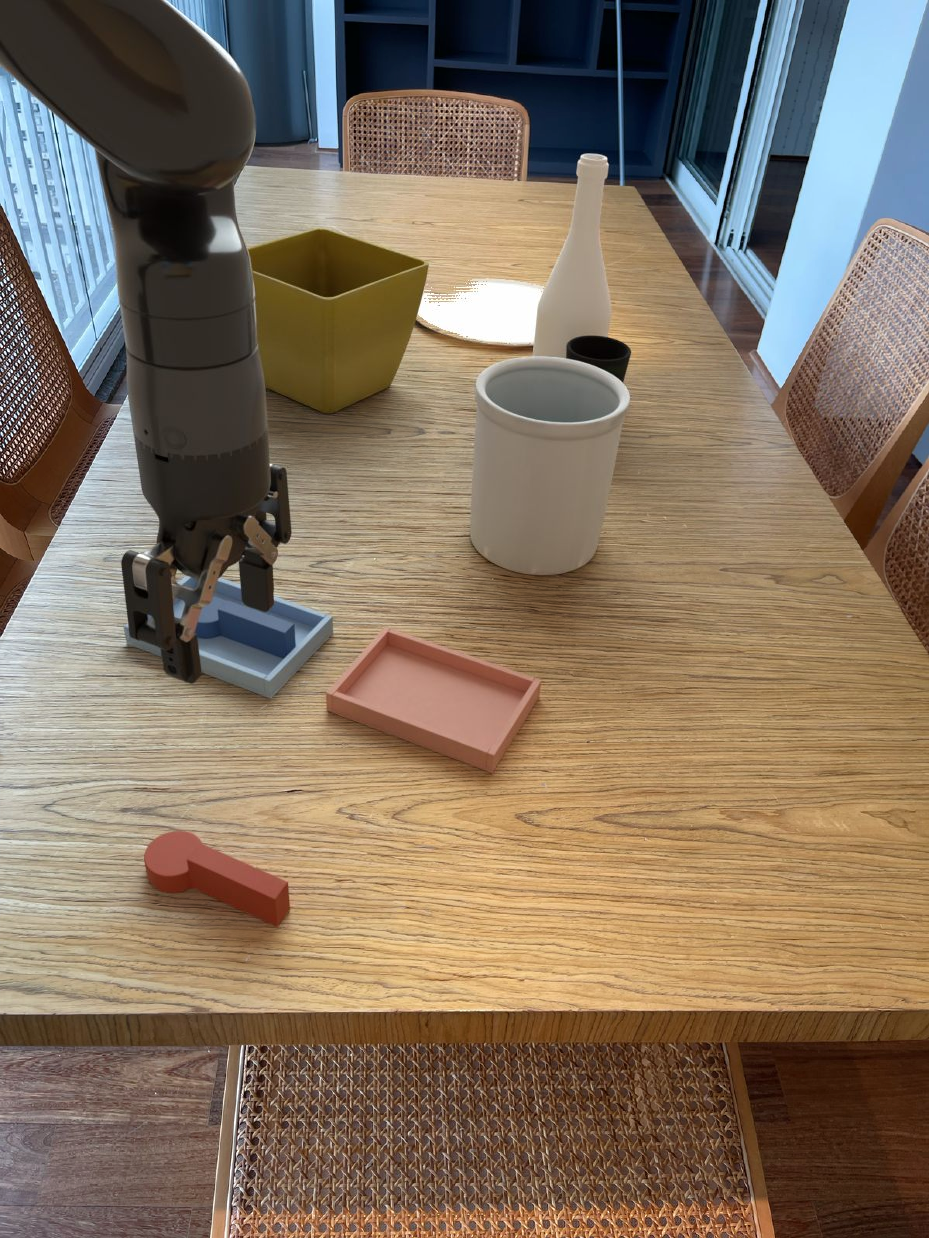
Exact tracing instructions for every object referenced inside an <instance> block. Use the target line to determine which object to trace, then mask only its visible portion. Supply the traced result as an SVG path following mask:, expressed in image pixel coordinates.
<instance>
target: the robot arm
mask: <svg viewBox="0 0 929 1238" xmlns="http://www.w3.org/2000/svg"><path fill="white" fill-rule="evenodd" d="M0 67H1V68H2V69H3V70H5V71H6V72H7V73H8V74H9V75H10V76H11V77H12V78H13V79H14V80H16V81H17V83H19V84H20V85H21V86H22V87H23V88H24V89H25V90H27V91H28V92H29V93H30V94H31V95H32V96H33V97H35V99H36V100H38V101H39V102H40V103H41V104H42V105H44V106H45V107H46V108H47V109H48V110H49V111H50V112H51V113H53V114H54V115H55V116H56V117H57V118H58V119H59V120H60V121H62V122H63V123H64V124H65V125H66V126H67V127H69V129H71V130H72V131H73V132H74V133H76V134H77V135H78V136H80V138H81V139H82V140H84V141H85V142H86V143H88V144H89V145H90V146H91V147H92V148H93V149H94V152H95V157H96V162H97V166H98V172H99V176H100V180H101V186H102V191H103V195H104V199H105V203H106V207H107V213H108V216H109V221H110V224H111V229H112V233H113V234H112V235H113V241H114V252H115V253H114V254H115V267H116V268H115V270H116V271H115V272H116V287H117V296H118V297H117V298H118V301H119V302H118V303H119V309H120V317H121V323H122V329H123V337H124V345H125V351H126V352H125V353H126V390H127V400H128V405H129V412H130V419H131V426H132V433H133V440H134V446H135V454H136V459H137V466H138V471H139V472H138V473H139V474H138V475H139V481H140V487H141V491H142V495H143V497H144V499H145V500H146V502H147V503H148V504H149V506H150V507H151V508H152V510H153V511H154V513H155V515H156V516H157V517H158V531H157V535H156V544H154V545H153V546H152V547H150V548H149V549H147V550H146V551H145V552H138V551H135V550H130V549H129V550H126V551H125V552H124V554H123V556H122V557H121V562H120V564H121V566H120V567H121V573H122V582H123V590H124V599H125V607H126V617H127V623H128V626H129V634H130V637H131V638H133V639H135V640H138V641H143V642H146V643H148V644H151V645H154V646H157V647H159V648H160V649H161V656H162V657H161V661H162V669H163V672H164V673H165V675H166V676H170V677H172V678H174V679H177V680H179V681H182V682H185V683H187V684H191V685H193V684H195V683H196V682H197V681H199V679H201V677H202V675H203V673H202V671H201V663H200V655H199V646H198V638H197V634H195V633H194V632H195V629H196V626H197V622H198V619H199V616H200V612H201V609H202V608H203V607H204V606H207V605H209V604H210V603H211V601H212V598H213V594H214V591H215V588H216V584H217V581H218V579H219V578H222V576H223V575H224V573H226V571H227V570H228V568H230V567H231V566H233V565H236V564H237V563H238V571H239V582H240V583H239V584H240V585H241V596H242V602H243V603H244V604H245V605H246V606H248V607H251V608H254V609H257V610H260V611H263V612H267V611H268V610H269V609H270V608H271V607H272V606H273V605H274V596H275V594H274V593H275V583H274V579H275V578H274V564H275V563H276V561H277V560H278V556H279V549H278V547H279V545H280V544H284V545H287V543H288V544H289V542H290V540H291V538H292V531H293V530H292V520H291V510H290V509H291V508H290V498H289V484H288V473H287V468H286V467H284V466H282V465H281V466H280V465H277V464H273V463H271V461H270V460H271V458H270V443H269V442H270V440H269V424H268V409H267V407H268V406H267V390H266V389H267V388H266V387H265V379H264V373H263V368H262V363H261V359H260V353H259V346H258V329H257V313H256V297H255V287H254V276H253V269H252V264H251V259H250V256H249V252H248V249H247V248H248V246H247V244H246V242H245V240H244V237H243V235H242V231H241V230H240V227H239V226H240V225H239V222H238V215H237V211H236V194H235V183H234V180H235V179H236V178H237V177H238V176H239V175H240V173H241V172H242V171H243V170H244V169H245V167H246V165H247V164H248V161H249V160H250V157H251V155H252V152H253V150H254V146H255V141H256V136H257V135H256V134H257V113H256V107H255V102H254V97H253V94H252V91H251V88H250V85H249V83H248V81H247V78H246V76H245V74H244V73H243V71H242V68H241V67H240V66H239V65H238V63H237V62H236V60H235V59H234V58H233V56H232V55H231V54H230V53H229V52H228V51H227V50H226V49H225V47H223V46H222V45H221V44H220V43H219V42H218V41H217V40H215V39H214V38H213V37H212V36H210V35H209V34H208V33H207V32H205V30H203V28H201V27H200V26H198V24H196V23H194V22H193V21H192V20H191V19H190V18H188V17H187V16H186V15H185V14H183V13H182V12H181V11H180V10H179V9H178V8H177V7H175V6H174V5H172V4H171V3H170V1H168V0H0ZM267 514H268V515H271V516H273V519H274V521H271V520H268V517H267ZM177 571H179V572H180V573H181V574H183V575H184V576H189V577H192V578H195V579H198V580H199V582H198V585H197V587H196V588H195V589H191V588H188V587H185V586H182V585H179V584H178V582H177V579H176V578H177V577H176V575H177ZM176 598H178V599H181V600H183V601H184V603H185V606H184V609H183V613H182V616H181V619H179V618H177V617H174V607H173V604H174V601H175V599H176ZM148 615H150V616H152V617H151V619H150V620H148Z"/></svg>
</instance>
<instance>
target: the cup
mask: <svg viewBox="0 0 929 1238" xmlns="http://www.w3.org/2000/svg"><path fill="white" fill-rule="evenodd" d="M631 356H632V350H631V348H630V347H629V345H628V344H626V343H625V342H623V341H621V340H618V339H616V338H613V337H610V336H608V337H604V336H593V335H588V336H580V337H576V338H573V339H571V340H570V341H569V342H568V343H567V345H566V359H571V360H576V361H580V362H584V363H587V364H590V365H593V366H596V367H598V368H600V369H602V370H605V371H606V372H608V373H610V374H612V375H614V376H615V377H616V378H618V379H619V380H620V381H621V382H622V383H623V384H624V383H625V382H624V381H625V378H626V374H627V370H628V366H629V363H630V359H631Z"/></svg>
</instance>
